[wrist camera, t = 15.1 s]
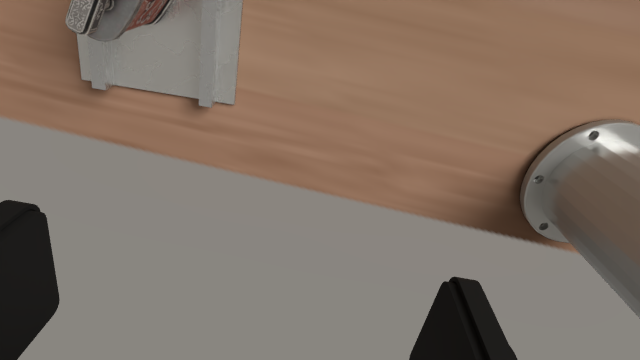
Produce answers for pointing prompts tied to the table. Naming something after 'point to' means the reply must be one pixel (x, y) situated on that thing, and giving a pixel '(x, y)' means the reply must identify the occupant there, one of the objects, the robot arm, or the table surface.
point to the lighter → (113, 16)
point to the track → (173, 53)
